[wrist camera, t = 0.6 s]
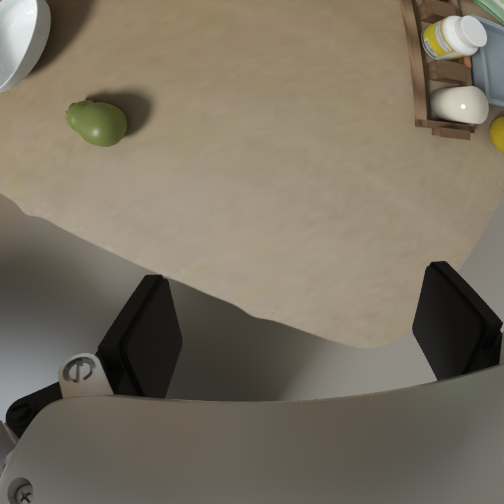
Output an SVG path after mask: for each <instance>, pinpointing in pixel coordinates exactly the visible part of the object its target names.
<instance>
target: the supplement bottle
mask: <svg viewBox="0 0 504 504" xmlns="http://www.w3.org/2000/svg"><path fill="white" fill-rule="evenodd" d="M486 42H487V34H486V31H485V29H484V27H483V26H482V24H481V23H480V22H479V21H478V20H477V19H476V18H474V17H472V16H464V17H460V16H449V17H446V18H444V19H442V20H440V21H438V22H436V23H434V24H432V25H430V26H428V27H426V28H425V29H424V30H423V31H422V33H421V43H422V46H423V48H424V50H425V51H426V53H427V54H428V55H429V56H430V57H432V58H433V59H435V60H437V61H438V60H446V61H449V60H453V59H457V58H461V57H466V56H470V55H473V54H474V53H476V51H477V50H478V48H479V47H482V46H484V45H485V44H486Z"/></svg>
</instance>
